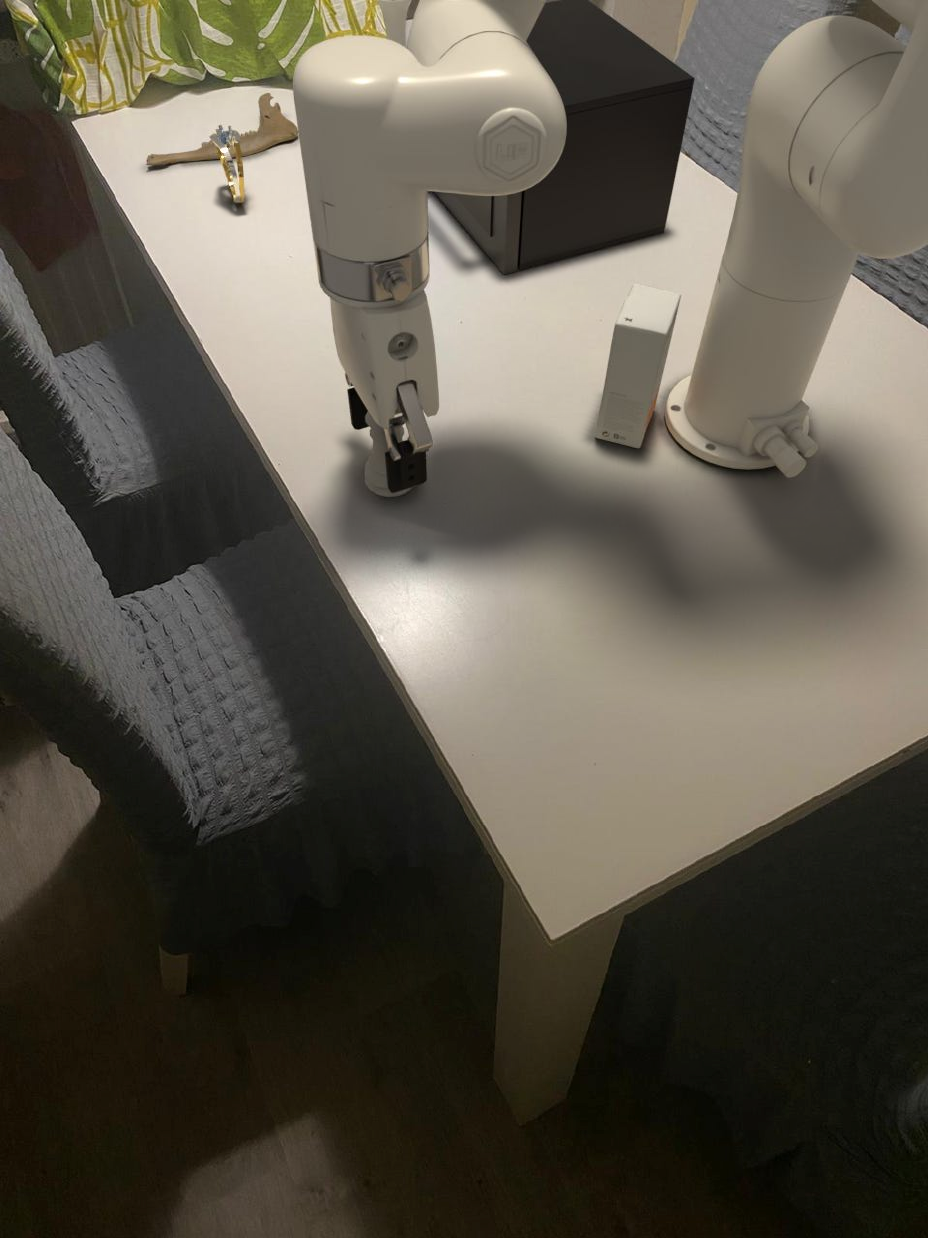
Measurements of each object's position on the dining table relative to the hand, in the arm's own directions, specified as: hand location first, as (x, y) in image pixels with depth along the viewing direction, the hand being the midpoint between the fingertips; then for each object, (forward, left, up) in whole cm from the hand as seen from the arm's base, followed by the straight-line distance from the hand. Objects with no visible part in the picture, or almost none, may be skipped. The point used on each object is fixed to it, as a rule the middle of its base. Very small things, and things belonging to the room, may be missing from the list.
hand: (388, 452), depth 74 cm
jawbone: (+64, -3, -4) cm, 64 cm away
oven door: (+34, -21, -3) cm, 40 cm away
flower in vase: (+60, -25, -4) cm, 65 cm away
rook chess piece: (0, 0, -4) cm, 4 cm away
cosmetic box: (-2, -22, -4) cm, 22 cm away
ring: (+49, -1, -4) cm, 49 cm away
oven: (+34, -33, -3) cm, 47 cm away
